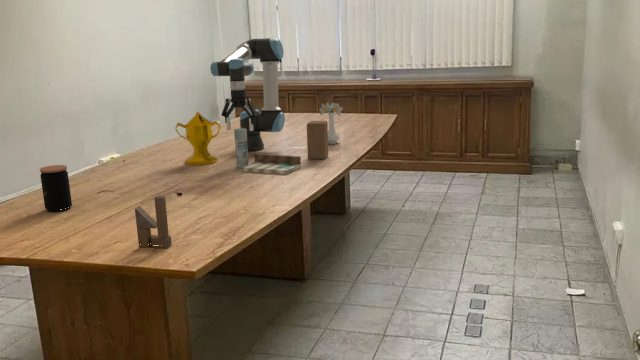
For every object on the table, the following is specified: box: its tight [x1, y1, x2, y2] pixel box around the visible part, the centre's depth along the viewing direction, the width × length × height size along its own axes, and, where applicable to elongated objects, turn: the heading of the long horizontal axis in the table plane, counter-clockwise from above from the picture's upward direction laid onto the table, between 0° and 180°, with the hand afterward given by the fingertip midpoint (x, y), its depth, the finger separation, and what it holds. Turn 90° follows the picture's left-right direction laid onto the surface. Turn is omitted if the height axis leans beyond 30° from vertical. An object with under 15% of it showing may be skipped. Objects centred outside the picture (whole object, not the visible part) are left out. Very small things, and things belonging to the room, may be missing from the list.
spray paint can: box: [233, 127, 249, 169], centre depth 336 cm, size 6×6×20 cm
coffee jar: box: [39, 164, 73, 213], centre depth 269 cm, size 11×11×18 cm
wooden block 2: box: [134, 195, 172, 249], centre depth 219 cm, size 4×11×18 cm, turn 80°
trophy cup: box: [175, 111, 222, 166], centre depth 350 cm, size 18×24×28 cm
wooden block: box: [306, 120, 329, 160], centre depth 353 cm, size 10×10×20 cm
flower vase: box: [318, 102, 344, 145], centre depth 393 cm, size 13×18×25 cm
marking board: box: [241, 153, 302, 175], centre depth 330 cm, size 26×16×6 cm, turn 67°
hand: (240, 130), depth 334 cm, fingers open, 13 cm apart
